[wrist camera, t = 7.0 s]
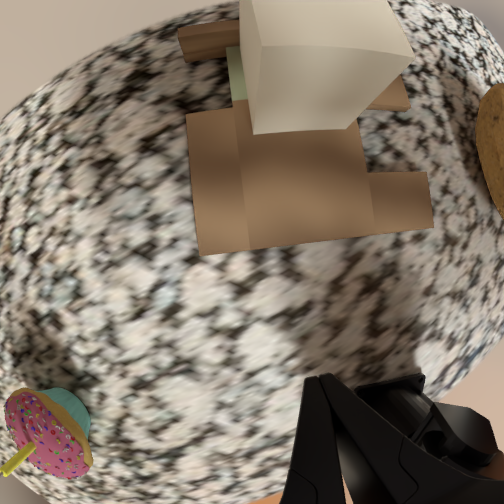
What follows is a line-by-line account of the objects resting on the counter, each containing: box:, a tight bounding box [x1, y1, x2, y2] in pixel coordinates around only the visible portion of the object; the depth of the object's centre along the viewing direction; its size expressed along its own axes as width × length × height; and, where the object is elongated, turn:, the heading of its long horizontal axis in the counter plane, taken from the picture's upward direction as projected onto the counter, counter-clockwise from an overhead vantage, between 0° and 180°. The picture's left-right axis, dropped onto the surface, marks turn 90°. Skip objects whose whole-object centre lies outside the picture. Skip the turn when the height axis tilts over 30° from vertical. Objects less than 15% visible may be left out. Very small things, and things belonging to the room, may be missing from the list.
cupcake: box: [0, 387, 93, 479], centre depth 12 cm, size 9×8×12 cm
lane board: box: [178, 20, 434, 256], centre depth 16 cm, size 15×16×3 cm
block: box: [239, 0, 416, 135], centre depth 12 cm, size 7×6×9 cm
